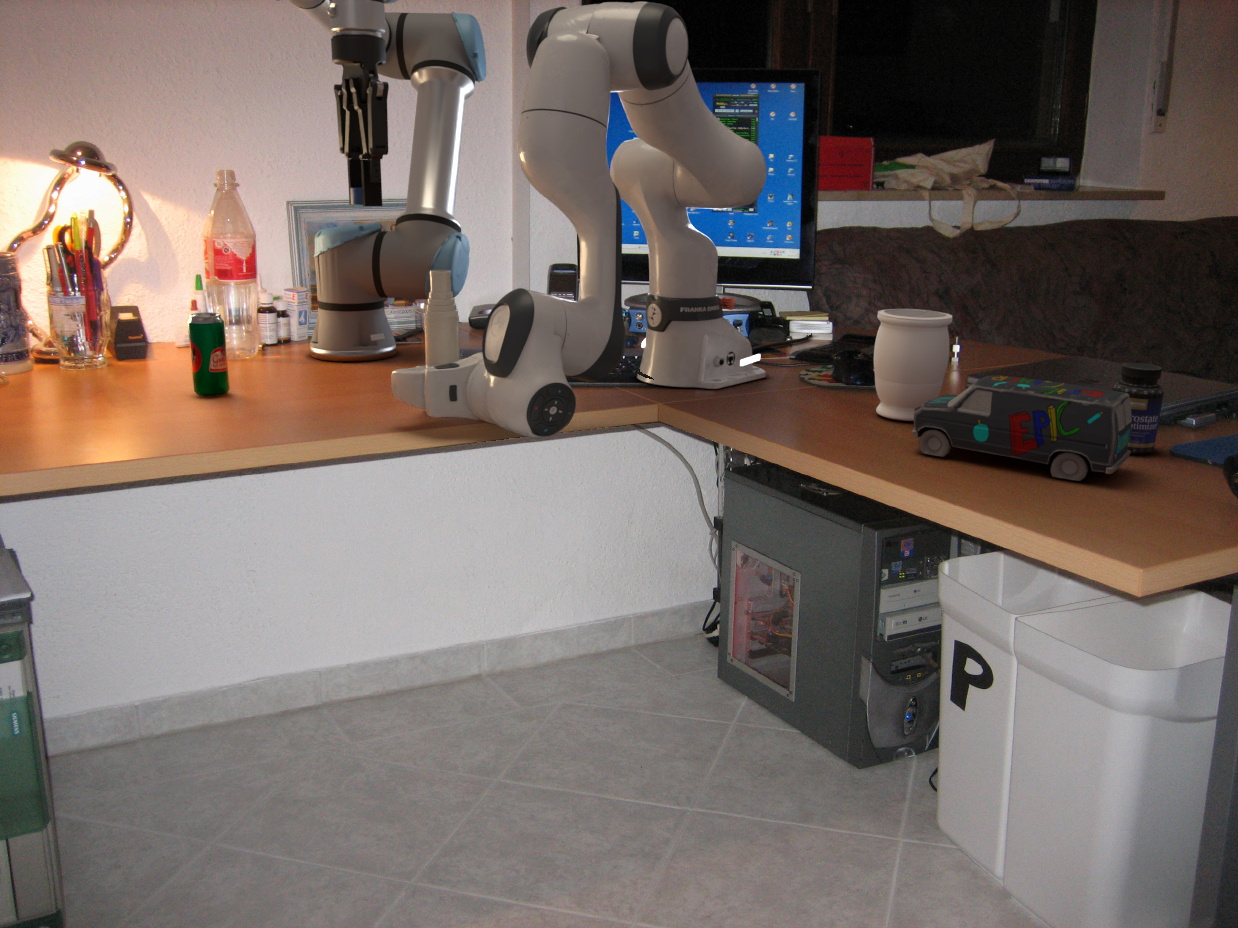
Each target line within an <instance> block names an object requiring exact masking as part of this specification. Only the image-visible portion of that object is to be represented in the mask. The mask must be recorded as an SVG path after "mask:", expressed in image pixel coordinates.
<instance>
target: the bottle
mask: <svg viewBox="0 0 1238 928" xmlns="http://www.w3.org/2000/svg"><path fill="white" fill-rule="evenodd" d="M429 274H430V292H429V298H427V299H426V301H427V302H426V303H425V309H424V315H423V327H424V331H423V332H424V357H425V358H424V360H425V365H427V366H433V365H442V364H448V363H453V362H456V361H459V360H461V347H460V346H461V345H460V343H461V342H460V340H461V339H460V315H459V309H458V308H457V303H456V301H455V300H456V297H454V298H453V292H452V291H451V271H450V270H431V271H430V273H429Z"/></svg>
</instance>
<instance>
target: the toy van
mask: <svg viewBox="0 0 1238 928" xmlns="http://www.w3.org/2000/svg"><path fill="white" fill-rule="evenodd" d="M914 410H915V412H914V421H913V429H912V430H911V433H912V435H913V438H914V439H918V438H919V439H918V447H919V450H920V452H921V453H922V454H926V455H930V456H934V457H935V456H936V457H942V458H945V457H946V456H947V455H948V454H949V453H950V452H951V450H952V448H958V449H962V450H963V449H964V450H969V451H974V452H978V453H979V452H980V453H984V454H985V453H986V454H990V455H996V456H1002V457H1007V458H1012V459H1013V458H1014V459H1019V460H1024V461H1029V462H1033V463H1039V464H1043V465H1044V464H1045V465H1048V464H1049V465H1050V463H1051V465H1050V475H1051V476H1052V478H1058V479H1065V480H1069V481H1077V482H1080V481H1082V480H1083V479H1085V478H1086V476H1087V474H1088V472H1089V469H1091V472H1098V473H1105V474H1107V475H1112V474H1113V473H1115V472H1116V471H1117V470H1118V469H1119V468H1120V467H1121V466H1122V465H1123V464H1124V463H1125V462H1126V461H1127V460H1128V458H1129V457H1130V455H1131V454H1132V453H1131V451H1130V450H1128V446H1129V445H1130V442H1129V440H1130V436H1131V430H1132V427H1133V423H1132V414H1131V405H1130V396H1129V394H1127V393H1124V392H1118V391H1112V389H1111V390H1110V389H1104V388H1097V387H1090V386H1084V385H1078V384H1071V383H1064V382H1058V381H1051V380H1043V379H1036V378H1030V377H1029V378H1028V377H1019V376H1009V375H1007V376H1006V375H999V374H997V375H996V374H995V375H987V376H984V377H980V378H979V379H977V380H976V381H975V382H973V383H972V384H971V385H970V386H968V387H967V388H966V389H965V390H963V391H962V392H960V393H958V394H943V395H939V396H938V397H937V398H934V399H932V400H929V401H927V402H925V403H923V404H921V405H920V406H918V407H917V408H915V409H914Z"/></svg>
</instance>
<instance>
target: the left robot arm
mask: <svg viewBox="0 0 1238 928" xmlns="http://www.w3.org/2000/svg"><path fill="white" fill-rule="evenodd" d="M276 1H279V2H280V1H281V0H276ZM398 1H399V0H288V2H290V3H291V4H292V5H294V6H295V7H296V8H297V9H298V10H299V11H301V12H302V13H304V15H306V16H307V17H308V18H310V19H311V20H312V21H313V22H314V23H315V24H316V25H318V26H319V27H320V28H321V29H322V30H324V31H325V32H327V33H328V34H329V35H330V36H331V38H330V47H331V48H330V49H331V61H332V63H334V65H339V66H342V68H343V69H342V75H341V83H340V84H337V83H335V84H334V85H333V93H334V97H335V105H336V117H337V134H338V148H339V153H340V154H341V155H344V158H345V159H346V160H347V161H346V162H347V181H348V182H347V183H348V203H349V205H350V206H354V205H353V204H351V190H350V188H362V195H363V205H362V206H363V207H383V188H382V187H383V185H382V184H383V183H382V162H381V161H382V160H383V158H384V156H387V155H388V154H389V123H388V122H389V121H388V117H389V116H388V95H389V89H390V85H389V82H387V81H380V78H379V75H381V76H383V77H385V78H390V79H393V80H400V81H410V84H411V86H412V88H413V89H414V90H415V92H417V97H416V105H415V106H416V107H415V116H414V125H413V135H412V145H411V154H410V165H409V175H408V185H407V192H406V193H407V194H406V204H405V211H403V212H402V213H401V214H399V215H397V217H396V219H395V225H394V230H393V231H387V230H386V231H385V230H383V227H382V225H381V223H379V222H368V223H367V222H366V223H360V224H359V223H356V224H350V225H349V224H348V225H342V226H333V227H326V228H322V229H319V230H318V231H317V232H316V234H315V235H314V254H313V259H314V269H315V280H316V284H315V285H316V297H317V310H318V311H317V316H316V321H315V323H314V327H313V331H312V335H311V338H310V342H309V355H310V356H311V357H312V358H314V359H317V360H323V361H331V362H366V361H376V360H382V359H387V358H390V357H394V356H395V355H396V354H397V342H396V341H399V340H402V339H405V338H407V337H409V336H412V335H414V334H417V333H421V332H424V331H423V327H419V328H414V329H411V330H409V331H406V332H405V333H403V334H399V335H394V333H393V331H392V329H391V325H390V323H389V320H388V317H387V314H386V311H385V298H386V299H409V300H413V299H414V300H427V298H429V292H430V274H429V273H430V271H431V270H450V271H451V291H452V292H453V298H456V297H457V296H458V295H459V294H460V293H461V291H462V290H463V288H464V286H465V283H466V281H467V276H468V272H469V268H470V267H469V266H470V248H471V247H470V240H469V238H468V237H467V235H466V234H465V233H463V232H462V226H461V224H460V223H459V222H458V221H457V220H456V219H455V211H456V210H455V209H456V200H457V189H458V180H459V179H458V177H459V168H460V157H461V145H462V138H463V137H462V135H463V126H464V125H463V124H464V123H463V122H464V116H465V115H464V114H465V106H466V105H465V104H466V100H467V99H469V98H471V96H473V95H474V92H475V85H476V82H477V83H481V82H483V81H485V79H486V76H487V58H486V49H485V42H484V38H483V37H484V36H483V33H482V29H481V26H480V23H479V21H478V19H477V18H476V17H475V16H474V15H472V14H470V13H461V12H460V13H458V12H455V11H451V12H450V13H449V12H448V13H447V12H446V13H445V12H443V13H442V12H400V11H399V12H390V11H389V12H387V11H385V4H387V5H388V4H393V3H396V2H398Z"/></svg>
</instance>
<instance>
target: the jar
mask: <svg viewBox="0 0 1238 928" xmlns="http://www.w3.org/2000/svg"><path fill="white" fill-rule="evenodd" d="M877 319H878V321H880V325H879V327H878V329H877V334H876V337H875V342H874V347H873V372H874V384H875V385H874V386H875V391H876V395H877V398H878V399H879V401H880V402H879V404H877V405H878V406H877V407H876V409H875V412H876V413H877V415H879V416H881V417H884V418H887V419H889V420H890V419H891V420H896V421H903V422H914V412H915V410H914V409H915V408H917V407H918V406H920V405H921V404H923V403H925V402H927V401H929V400H932V399H934V398H937V397H940V393H941V391H942V388H943V384H944V378H945V377H946V376H945V375H946V373H947V369H948V364H949V360H950V359H949V357H950V334H949V327H948V326H949V325H951V324H952V323H953V315H952V314H950V313H947V312H943V311H936V310H929V309H918V308H888V309H880V310H878V311H877Z"/></svg>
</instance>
